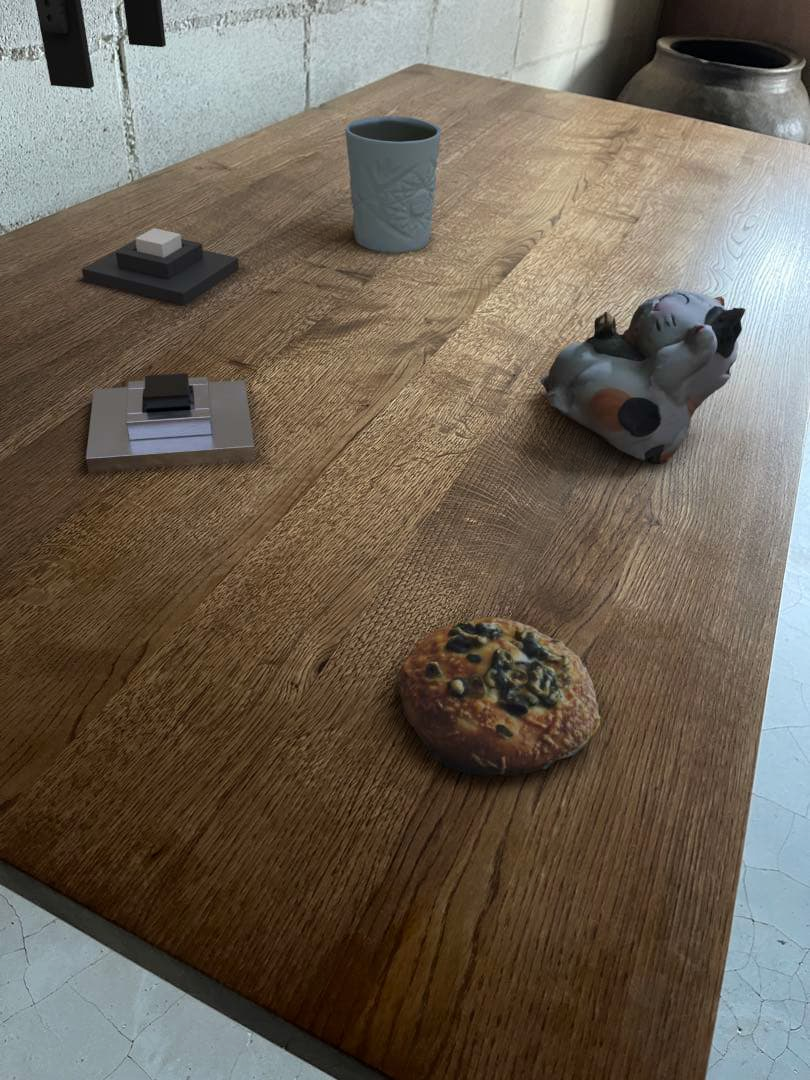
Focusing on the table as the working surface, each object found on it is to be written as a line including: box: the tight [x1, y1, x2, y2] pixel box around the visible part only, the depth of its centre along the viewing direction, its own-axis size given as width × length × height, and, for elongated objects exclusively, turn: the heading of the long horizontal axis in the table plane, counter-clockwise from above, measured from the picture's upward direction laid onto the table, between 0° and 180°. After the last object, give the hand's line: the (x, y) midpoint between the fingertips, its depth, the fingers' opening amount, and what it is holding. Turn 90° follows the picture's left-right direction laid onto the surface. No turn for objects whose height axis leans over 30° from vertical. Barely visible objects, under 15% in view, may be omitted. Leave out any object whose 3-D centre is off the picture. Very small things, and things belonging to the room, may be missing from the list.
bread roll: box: [398, 617, 602, 778], centre depth 50 cm, size 11×11×5 cm
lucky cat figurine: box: [539, 288, 746, 464], centre depth 72 cm, size 15×12×14 cm
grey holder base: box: [85, 376, 256, 474], centre depth 71 cm, size 12×10×3 cm
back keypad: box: [81, 238, 240, 306], centre depth 93 cm, size 12×10×3 cm
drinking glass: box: [345, 115, 442, 254], centre depth 101 cm, size 10×10×12 cm
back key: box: [134, 227, 182, 258], centre depth 92 cm, size 3×3×2 cm
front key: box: [144, 372, 191, 413], centre depth 70 cm, size 3×3×2 cm
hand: (113, 64), depth 66 cm, fingers open, 13 cm apart
